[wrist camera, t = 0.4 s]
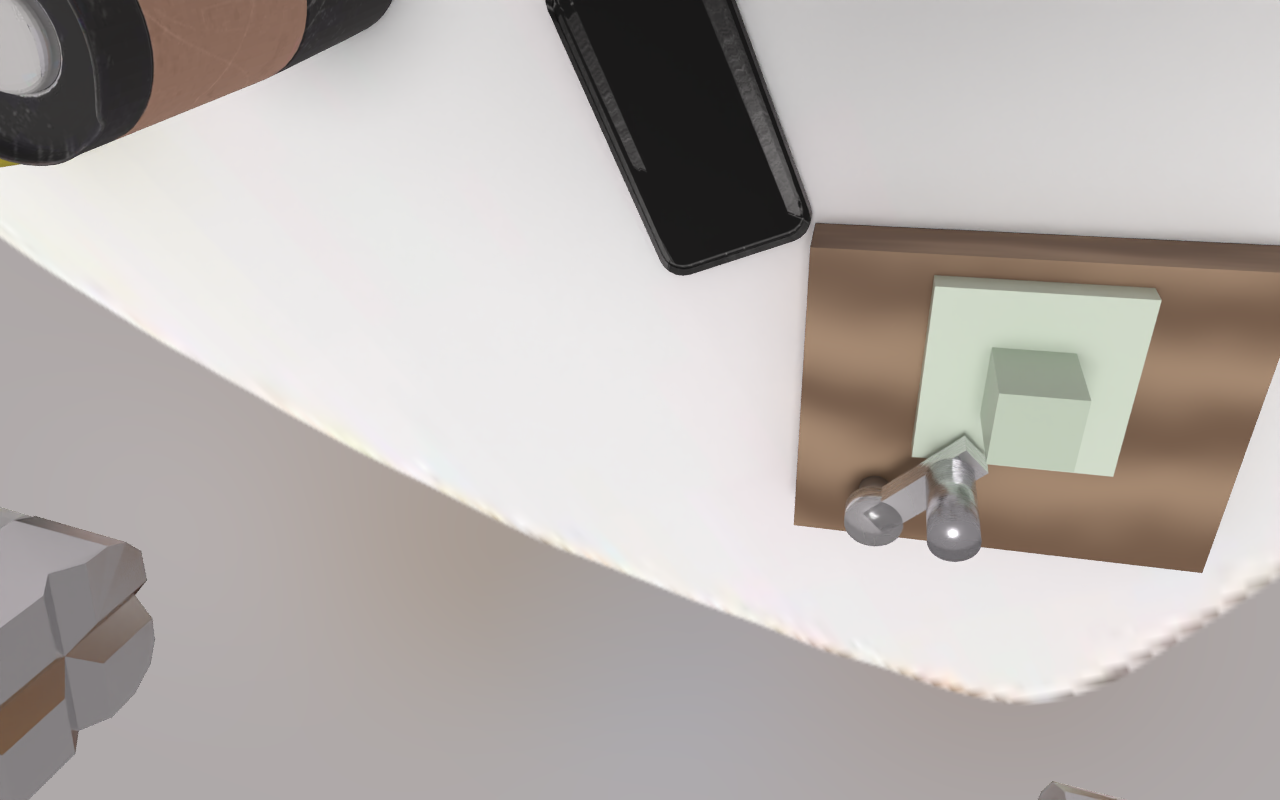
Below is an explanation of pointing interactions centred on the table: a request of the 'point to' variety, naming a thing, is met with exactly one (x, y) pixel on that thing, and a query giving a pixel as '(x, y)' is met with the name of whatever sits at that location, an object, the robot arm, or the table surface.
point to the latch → (925, 504)
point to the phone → (687, 125)
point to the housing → (1032, 498)
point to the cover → (1033, 370)
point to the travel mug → (145, 62)
